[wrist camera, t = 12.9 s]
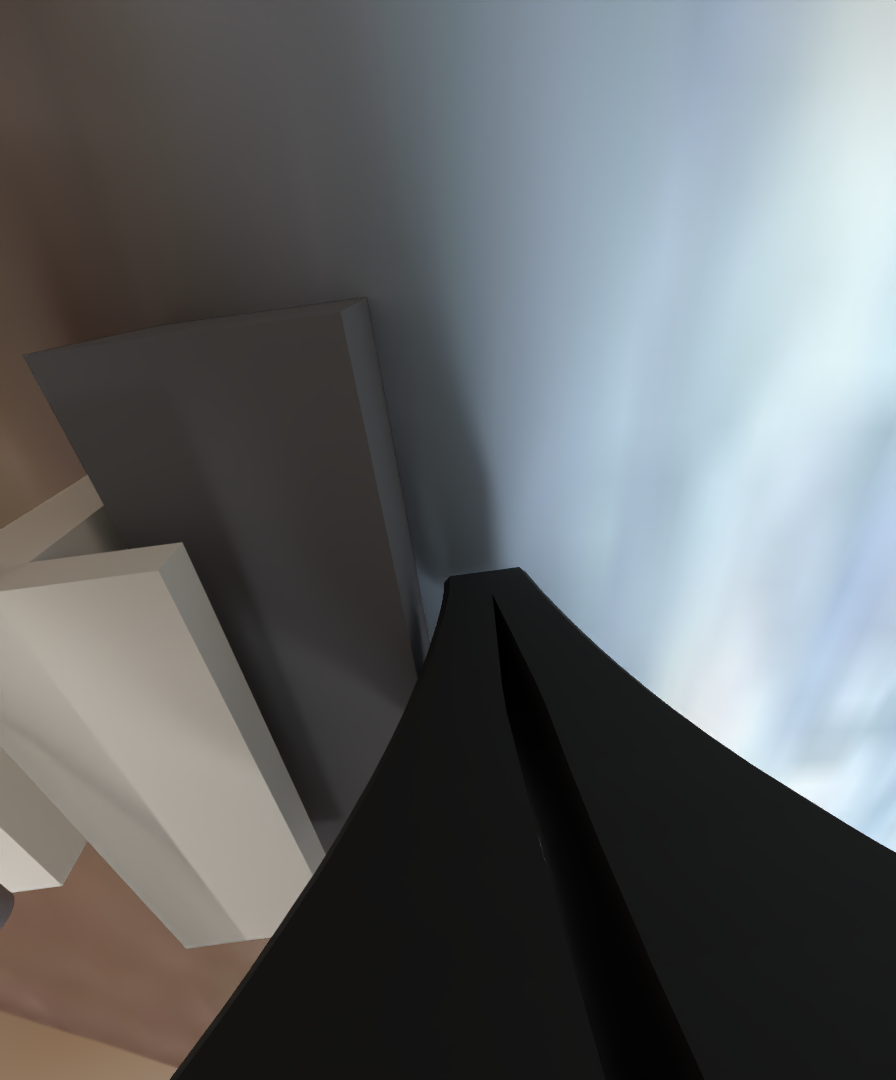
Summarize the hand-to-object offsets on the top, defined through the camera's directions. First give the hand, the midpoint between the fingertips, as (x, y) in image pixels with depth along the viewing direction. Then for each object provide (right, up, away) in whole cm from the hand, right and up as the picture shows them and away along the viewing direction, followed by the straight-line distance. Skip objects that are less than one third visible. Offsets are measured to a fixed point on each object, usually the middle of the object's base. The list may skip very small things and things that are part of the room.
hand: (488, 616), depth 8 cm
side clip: (-5, 0, +1) cm, 5 cm away
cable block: (-3, +1, +1) cm, 3 cm away
